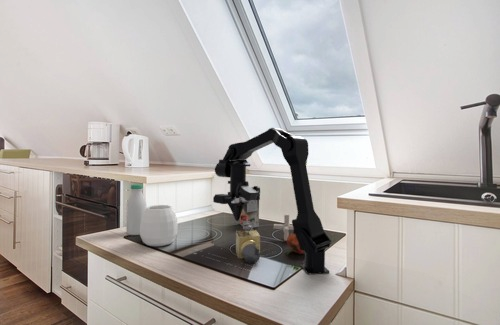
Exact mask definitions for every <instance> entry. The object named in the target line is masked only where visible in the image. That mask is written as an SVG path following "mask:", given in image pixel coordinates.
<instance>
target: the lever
mask: <svg viewBox="0 0 500 325" xmlns="http://www.w3.org/2000/svg"><path fill="white" fill-rule="evenodd" d="M239 223H240V224H242V225H243V226H242V225H241V226H242V229H243V230H242V231H245V230H254V228H253V225H250V224H249V222H248V215H246V214H242V215H240V218H239ZM240 224H239V225H240Z"/></svg>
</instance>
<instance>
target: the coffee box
mask: <svg viewBox="0 0 500 325" xmlns="http://www.w3.org/2000/svg"><path fill="white" fill-rule="evenodd" d="M247 202H249V203H247V204H246V205H245V206H244V208H243V210H242V212H241V215H242V214H246V215H248V222H249V224H250V225H253V229H254V228H259V226H260V225H259V224H260V200H250V201H247ZM239 225H240V226H242V227H243V225H242V224H240V222H239Z"/></svg>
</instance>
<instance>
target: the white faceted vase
mask: <svg viewBox="0 0 500 325" xmlns="http://www.w3.org/2000/svg"><path fill="white" fill-rule="evenodd" d="M178 229H179V226H178V217H177V214H176V212H175V210H174V208H173V206H171V205H169V204H158V205H157V204H156V205H155V204H154V205H150V206H147V208H146V210H145V212H144V213H143V216H142V218H141V223H140V235H139V236H140V238H141V240H142V243H144V244H145V245H147V246H149V247H163V246H168V245H170V244H171V243H173V242H174V240H175V239H176V237H177V234H178Z"/></svg>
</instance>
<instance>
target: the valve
mask: <svg viewBox="0 0 500 325" xmlns="http://www.w3.org/2000/svg"><path fill="white" fill-rule="evenodd" d="M235 254H236V256H237V258H238V259H244V261H245V263H247V264H251V265H253V264H256V263H257V262H258V261H259V260H260V257H261V235H260V233H259V232H258V230H254V229H253V230H236V231H235Z"/></svg>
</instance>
